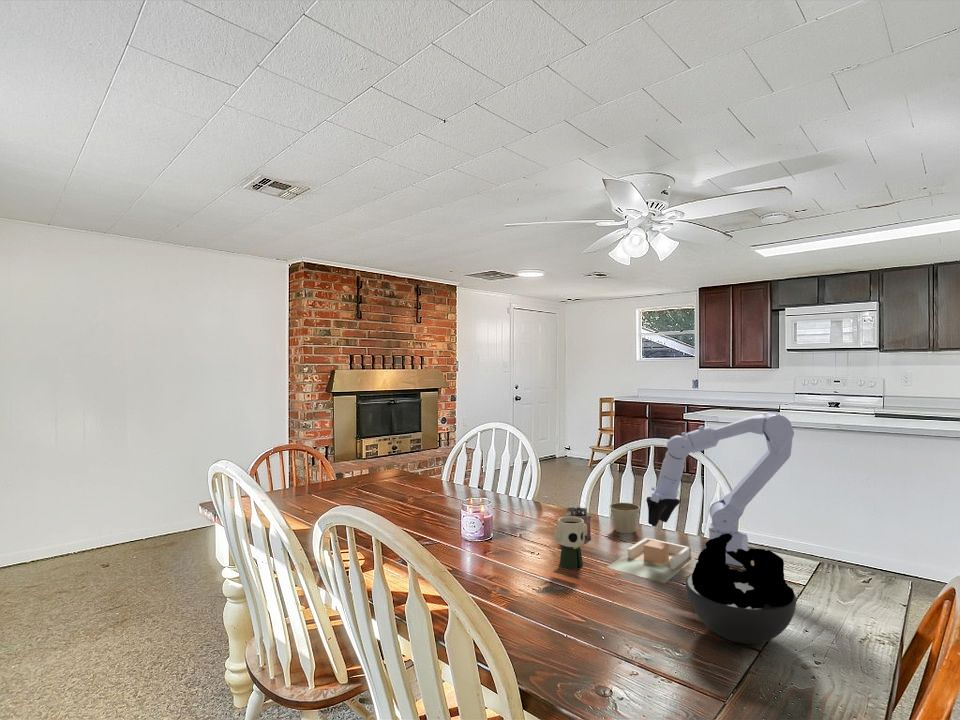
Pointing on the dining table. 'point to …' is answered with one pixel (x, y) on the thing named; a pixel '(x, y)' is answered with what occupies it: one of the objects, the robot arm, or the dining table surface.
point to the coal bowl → (741, 593)
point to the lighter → (580, 514)
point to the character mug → (570, 541)
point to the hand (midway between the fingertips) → (657, 522)
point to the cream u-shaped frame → (679, 550)
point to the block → (656, 551)
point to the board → (648, 567)
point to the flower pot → (624, 517)
